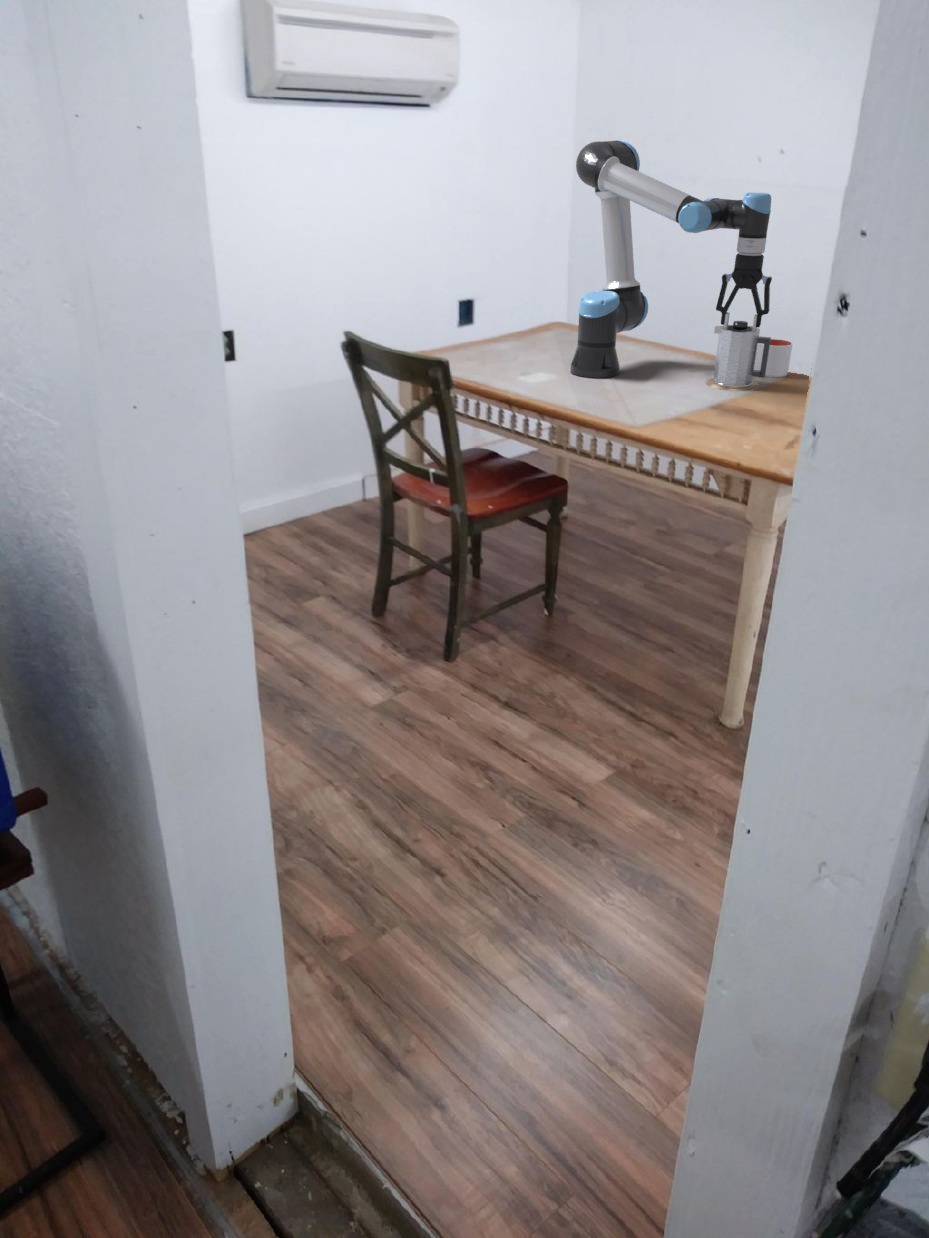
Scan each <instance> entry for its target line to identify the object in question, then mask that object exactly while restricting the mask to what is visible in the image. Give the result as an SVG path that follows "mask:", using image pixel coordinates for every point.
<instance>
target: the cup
mask: <svg viewBox="0 0 929 1238" xmlns="http://www.w3.org/2000/svg"><path fill="white" fill-rule="evenodd" d="M792 348H793V342H792V341H789V340H783V339H776V338H771V341H770V348H769V355H768V361H767V368H766V374H765V377H766V378H784V377H786V376H787V375H788V372H789V367H790V361H791V355H792ZM763 349H764V344H763V343H758V347H757V354H756V361H755V367H754V370H760V369H761V363H762V356H763ZM765 377H764V378H765Z"/></svg>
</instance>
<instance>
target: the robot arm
mask: <svg viewBox="0 0 929 1238" xmlns="http://www.w3.org/2000/svg"><path fill="white" fill-rule="evenodd" d="M640 161H641V160H640V156H639V153H638V151H637V149H636V147H634V146H633V145H632V144H631V143H629V142H627V141H622V140H618V139H617V140H609V141H608V140H607V141H606V140H605V141H600V140H599V141H591V142H590V143H588V144H586V145H585V146H583V148H582V149H581V150H580V151H579V153H578V155H577V158H576V163H575V167H576V168H575V169H576V173H577V175H578V178H579V179H580V180H581V182H583V183H584V184H585V185H587V186H590V187H592V188H594V194H595V195H596V196H597V197H598V198H599V199H600V207H601V209H600V210H601V217H602V218H601V221H602V233H603V234H602V235H603V249H604V261H605V262H604V263H605V274H606V275H605V276H606V277H605V279H606V283H605V284H604V286H603V287H602V289H601V290H598V291H591V292H587V293H585V294H583V296H581V298H580V301H579V302H580V303H579V307H578V328H577V329H578V331H577V344H576V345H577V346H576V350H575V352H574V354H573V357H572V358H571V359H572V360H571V362H570V367H569V368H570V369H569V370H570V373H571V374H573V375H576V376H578V377H582V378H597V379H599V378H603V379H604V378H611V377H616V376H618V375H619V374H620V368H621V367H620V361H619V357H618V353H617V348H616V343H617V342H616V341H617V334H619V333H623V332H627V331H632V330H634V329H635V328H637V327H639V326H641V324H643V322H644V321H645V320H646V318H647V316H648V312H649V303H648V299H647V297H646V295H645V294H644V293H643V292H642V291H641V283H640V282H639V281H638V280H637V279H636V277H635V265H634V264H635V262H634V248H633V247H634V246H633V231H632V213H631V202H632V203H635V204H637V205H639V206H640V207H643V208H644V209H645V208H646V209H648V210H649V211H652V212H653V213H656V214H658V215H661V216H662V217H664V218H667V219H669V220H670V221H672V222H675V223H677V224H679V226H680V228H681V229H682V230H683V231H685V232H686V233H690V234H692V233H693V234H698V233H702V232H706V231H713V230H718V229H719V230H720V229H729V230H730V229H731V230H738V237H737V244H736V245H737V247H736V252H738V253H737V254H736V255H735V259H734V260H735V262H734V266H733V267H734V269H733V271H732V273H723V274H722V276H721V283H722V284H721V287H720V290H719V291H720V292H719V295H718V299H717V304H716V307H715V309H716V310H715V311H718V312H720V313H721V317H720V326H724V329H726V330H728V325H729V321H730V315H731V312H728V311H729V308H730V306H731V304H732V302H733V301H734V299H735V296H736V295H737V293H738V291H739V290H742V289H746V290H750V292H751V294H752V299H753V302H754V306H755V311H756V314H754V316H753V322H752V326H753V328H752V331H755V330H756V327H757V328H760V327H761V326H762V325H761V323H762V318H763V316H764V315H768V314H769V312H770V303H771V301H770V295H771V294H770V293H771V283H772V281H773V280H772V279H773V277H772V276H766V275H763V264H764V258H765V256H764V255H763V253H765V251H766V243H767V237H768V229H769V222H770V218H771V217H770V215H771V211H772V210H771V207H772V196H771V194H769V193H766V192H746V193H745V194H744V195H743V197H742V199H727V198H720V197H712V198H711V197H710V198H705V199H704V200H701V199H699V198H697V197H695V196H692V195H691V194H689V193H686V192H685V191H682V190H680V189H677V188H675V187H673V186H671V185H670V184H667V183H664V182H662V181H660V180H659V179H655V178H654V177H651V176H650V175H648V174H645V173H643V172H640V166H641V163H640ZM731 278H732V280H733V281H734V284H735V285H734V287H733V289H732V291H731V293H730V295H729V297H728V299H727V300H726V303H725V304H724V306H723V303H724V300H725V295H726V292H727V287H728V283H729V282H730V281H731ZM761 280H762V284H763V286H764V288H763V291H764V292H763V294H764V295H763V309H762V304H761V299H760V296H759V295H760V294H759V292H758V286H757V285H758V284H759V282H760V281H761Z"/></svg>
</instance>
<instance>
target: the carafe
mask: <svg viewBox="0 0 929 1238" xmlns="http://www.w3.org/2000/svg"><path fill="white" fill-rule="evenodd" d="M752 328H753V325H752V326H751V325H748V326H747V329H746V330H741V332H738V330H736V329H733V324H728V330H726V329H724V325H715V327H714V332H713V333H714V334H718V337H717V338H718V339H717V347H716V353H715V354H716V355H715V360H714V361H715V364H714V370H713V376H712V378H713V380H714V381H713V383H714V384H715V385H717V386H719V387H724V388H732V389H742V388H748V387H751V385H752V381H754V377H755V378H763V379H765V374H766V368H767V361H768V355H769V348H770V341H771V339H772V337H770V336H760V331H761V329H760V327H756V330H755V331H752ZM758 343H763V344H764V349H763V356H762V363H761V369H760V370H754V368H755V361H756V354H757V347H758Z"/></svg>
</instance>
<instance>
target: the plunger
mask: <svg viewBox="0 0 929 1238" xmlns="http://www.w3.org/2000/svg"><path fill="white" fill-rule="evenodd" d="M732 325H733V329H736V330H738V332H741V330H746V329H747V326H749V321H743V320H734V321H733V323H732Z"/></svg>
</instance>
